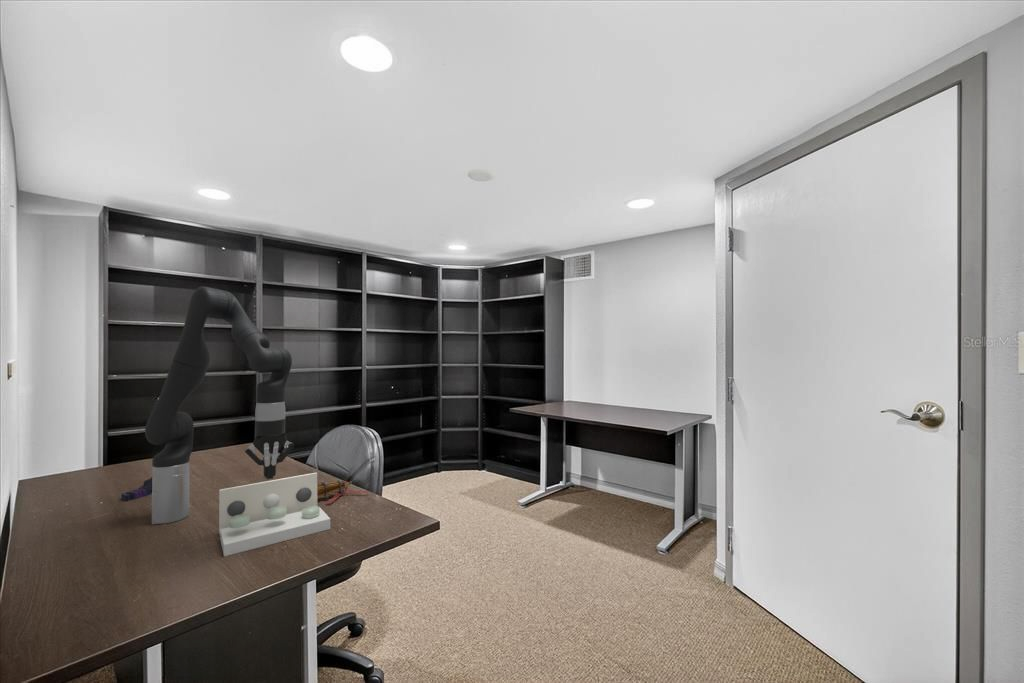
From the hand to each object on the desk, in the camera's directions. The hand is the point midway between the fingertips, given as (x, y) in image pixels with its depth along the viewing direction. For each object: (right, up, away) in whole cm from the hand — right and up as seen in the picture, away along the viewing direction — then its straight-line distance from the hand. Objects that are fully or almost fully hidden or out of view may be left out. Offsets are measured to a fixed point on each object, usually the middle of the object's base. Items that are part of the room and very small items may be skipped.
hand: (269, 478), depth 121 cm
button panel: (+2, -16, 0) cm, 16 cm away
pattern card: (-4, -16, +8) cm, 18 cm away
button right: (+9, -13, +6) cm, 17 cm away
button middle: (+2, -11, 0) cm, 11 cm away
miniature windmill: (+2, -17, +28) cm, 32 cm away
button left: (-5, -11, -5) cm, 13 cm away
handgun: (-71, -18, +40) cm, 83 cm away
